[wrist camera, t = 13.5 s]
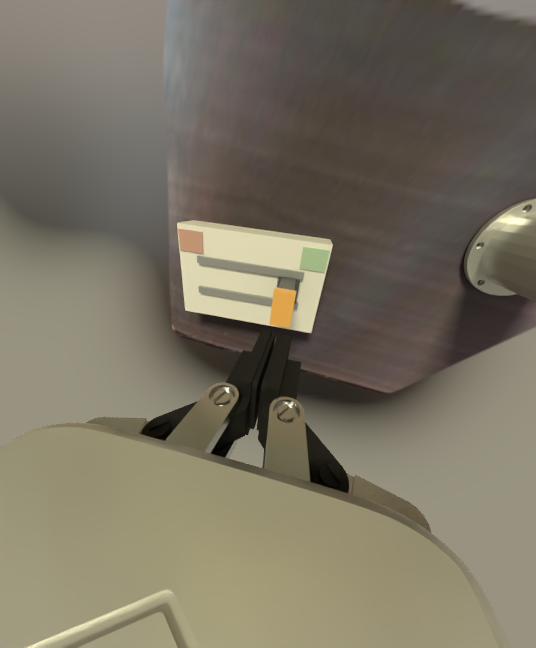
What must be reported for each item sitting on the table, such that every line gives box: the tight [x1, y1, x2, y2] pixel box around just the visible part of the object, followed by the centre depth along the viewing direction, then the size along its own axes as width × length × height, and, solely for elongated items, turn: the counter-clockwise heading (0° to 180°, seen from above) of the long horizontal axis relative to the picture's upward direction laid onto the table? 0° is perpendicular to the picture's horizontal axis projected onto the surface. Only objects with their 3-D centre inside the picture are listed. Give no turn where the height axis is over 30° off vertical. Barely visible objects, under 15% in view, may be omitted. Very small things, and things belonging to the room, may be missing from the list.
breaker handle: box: [269, 277, 300, 328], centre depth 30 cm, size 3×5×8 cm
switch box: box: [177, 220, 333, 333], centre depth 36 cm, size 22×14×6 cm, turn 84°
